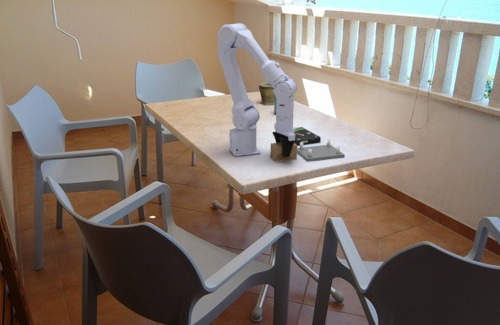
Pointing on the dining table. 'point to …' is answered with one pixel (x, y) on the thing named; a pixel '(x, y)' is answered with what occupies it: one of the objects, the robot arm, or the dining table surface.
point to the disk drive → (305, 137)
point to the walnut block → (277, 152)
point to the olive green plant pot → (267, 93)
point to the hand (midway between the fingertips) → (283, 154)
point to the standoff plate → (319, 152)
